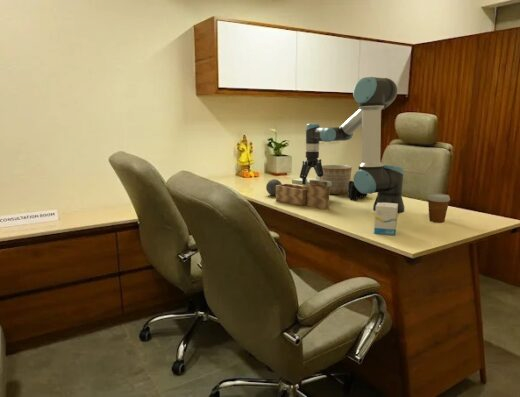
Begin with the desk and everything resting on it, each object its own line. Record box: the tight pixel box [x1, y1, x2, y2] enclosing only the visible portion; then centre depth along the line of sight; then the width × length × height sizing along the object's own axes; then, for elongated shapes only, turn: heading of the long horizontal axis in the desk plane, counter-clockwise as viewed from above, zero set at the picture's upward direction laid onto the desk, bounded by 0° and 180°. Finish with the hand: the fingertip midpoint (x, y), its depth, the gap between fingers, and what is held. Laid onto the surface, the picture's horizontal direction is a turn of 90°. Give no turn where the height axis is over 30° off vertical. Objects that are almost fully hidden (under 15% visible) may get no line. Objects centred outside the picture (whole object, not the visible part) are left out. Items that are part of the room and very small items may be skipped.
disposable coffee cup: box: [426, 193, 451, 224], centre depth 179 cm, size 10×10×12 cm
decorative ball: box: [265, 179, 283, 197], centre depth 241 cm, size 10×10×10 cm
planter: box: [321, 164, 353, 196], centre depth 248 cm, size 19×19×16 cm
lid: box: [291, 177, 332, 187], centre depth 230 cm, size 21×11×2 cm, turn 42°
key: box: [309, 180, 327, 187], centre depth 207 cm, size 10×2×2 cm, turn 42°
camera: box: [347, 180, 368, 201], centre depth 231 cm, size 14×11×10 cm
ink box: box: [373, 202, 398, 236], centre depth 163 cm, size 9×8×12 cm
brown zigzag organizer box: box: [275, 183, 330, 210], centre depth 216 cm, size 34×9×12 cm, turn 42°
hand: (311, 188), depth 231 cm, fingers closed on lid, 11 cm apart
